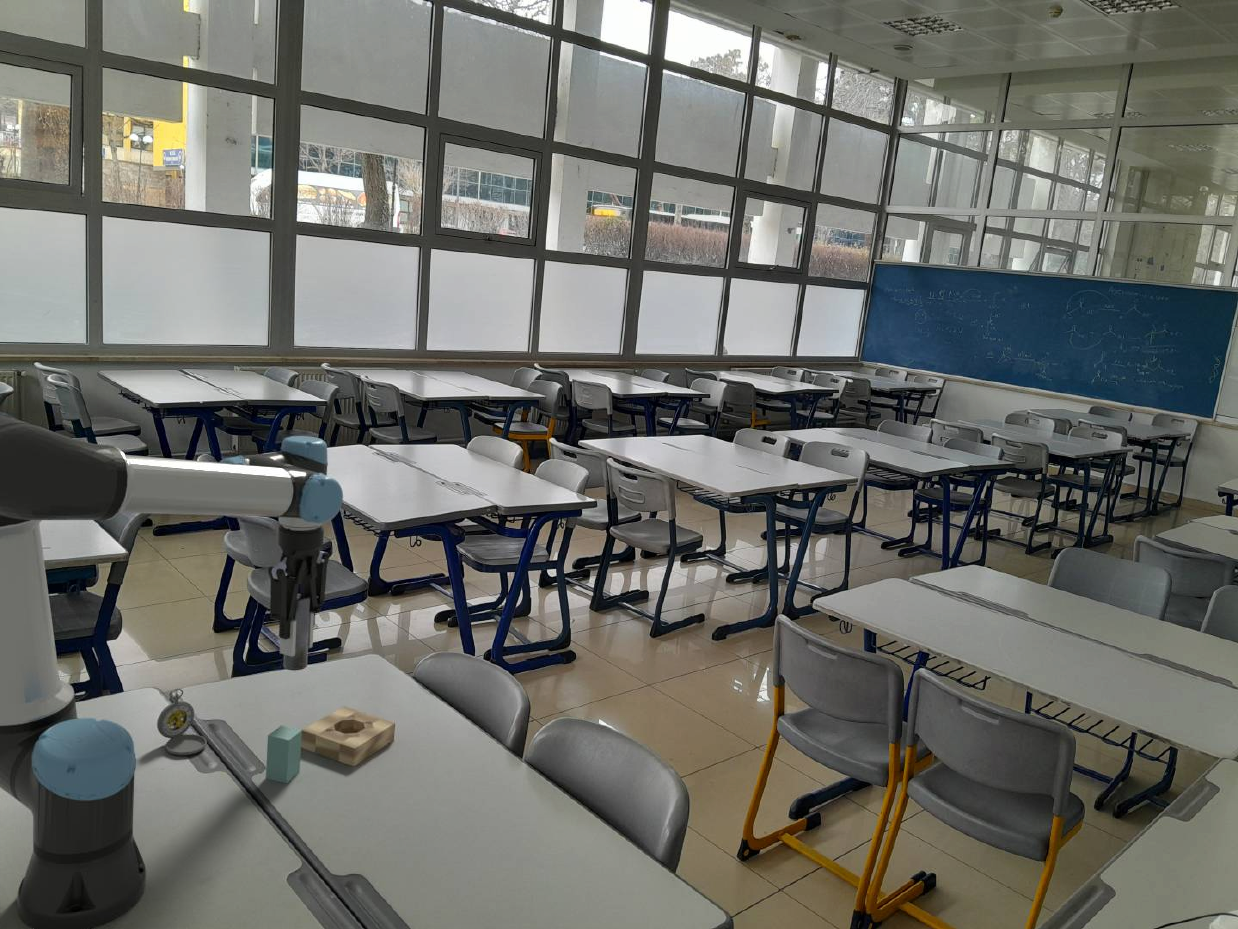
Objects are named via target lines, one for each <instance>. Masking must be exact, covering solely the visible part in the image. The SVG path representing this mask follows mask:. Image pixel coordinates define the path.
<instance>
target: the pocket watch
mask: <svg viewBox="0 0 1238 929" xmlns="http://www.w3.org/2000/svg"><path fill="white" fill-rule="evenodd" d="M175 691H180V692H181V694H178V693H176V694H175V696H174V697H173V696H172V694H173V693H174V692H175ZM183 695H184V690H183V689H181V688H175V689H173V690H172V691H171V692H169V698H170V699H172V700H174V702H172V703H170V704H169V705H167V706H166V707H164V709H163V710H162V711H161V712H160V714H159V715H158V719H157V721H156V727H157V731H158V732H159V734H160V735H161V736H162V737H164V738H168V739H169V740H168V741H166V744H165V750H166V752H168V753H170V754H172V755H175V756H189V755H193V754H194V755H195V754H197V753H199V752H201V751H202V750H204V749H205V747H206V746H207V743H208V742H207V738H205V737H204V736H201V735H198V734H193V733H191V734H184V733H185V732H187V731H188V730H189V728H191V726H192V723H193V721H194V718H195V710H194V707H193V706H192V705H191V703H189V702H187V701H182V700H181V701H180V699H181V698H182V696H183ZM172 726H173V727H172Z"/></svg>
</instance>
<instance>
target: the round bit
mask: <svg viewBox="0 0 1238 929" xmlns="http://www.w3.org/2000/svg"><path fill="white" fill-rule="evenodd" d="M309 611H310V596H308V595H305V594H301V593H298V594H297V599H296V605H295V611H294V616H293V620H295V621H296V641H295V655H294V656H292V657H291V656H288V655H285V654H283V668H284V669H285V670H288V671H293V672H294V671H295V672H297V671H302V670H304V669H306V668H307V666H308V655H309V654H308V650H309V648H308V632H309Z"/></svg>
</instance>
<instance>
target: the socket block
mask: <svg viewBox="0 0 1238 929" xmlns="http://www.w3.org/2000/svg"><path fill="white" fill-rule="evenodd" d="M301 730H302V738H301V749H304V750H307V751H309V752H312V753H315V754H318V755H321V756H324V757H326V758H328V759H329V758H330V759H331V760H334V761H337V762H340V763H342V764H346V765H348V766H351V767H356V766H357V765H358V764H360V763H361V762H363V761H364V760H366V759H367V758H369V757H370V756H372V755H373V754H375V753H376V752H378V751H380V750H381V749H382V748H384V747H386V746H387V745H389V744H390V743H392V742H394V740H395V730H396V722H393V721H390V720H387V719H384V718H381V717H377V716H374V715H372V714H369V713H366V712H363V711H361V710H357V709H354V708H350V707H348V706H342V707H340V708H338V709H336V710H335V711H333V712H332V713H330V714H328V715H326V716H324V717H322V718H321V719H319V720H317V721H315V722H313V723H311V724H310V725H308V726H306V727H304V728H303V729H301ZM388 743H389V744H388Z"/></svg>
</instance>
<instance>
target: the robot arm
mask: <svg viewBox="0 0 1238 929" xmlns="http://www.w3.org/2000/svg"><path fill="white" fill-rule="evenodd" d="M328 461H329V460H328V445H327V442H325V441H324V440H323V439H322V438H319V437H314V436H307V435H291V436H288V437H285V438H283V439H282V443H281V447H280V451H275V452H267V453H258V454H247V455H241V454H240V455H237V456H233V457H228V458H227V457H226V458H224V459H222V460H220V461H219V462H211V461H201V460H188V459H179V458H178V459H176V458H166V457H154V456H143V455H131V454H130V455H129V454H125V453H124V452H123V451H122V450H121V449H120V447H117V446H115V445H109V444H98V443H91V442H87V441H83V440H79V439H76V438H72V437H70V436H66V435H63V434H60V433H58V432H55V431H53V430H51V429H50V430H49V429H48V428H45V427H41V426H38V425H35V424H31V423H28V422H26V421H22V420H19V419H17V418H15V417H13V416H11V415H9V414H7V413H4V412H2V411H1V412H0V789H2V790H3V791H4V792H6V793H7V794H8V795H10V796H11V797H12V798H14V799H15V800H17V801H18V802H20V804H22V805H23V806H25V807H26V808H27V809H28V810H29V811H30V812H31V814H32V817H33V818H32V821H33V822H32V824H33V825H32V830H33V831H32V832H33V834H32V839H33V841H32V847H33V848H32V849H33V850H32V854H31V856H30V859H29V862H28V865H27V868H26V872H25V874H24V877H23V879H22V880H21V882H20V884H19V886H18V890H17V896H16V897H17V899H16V900H17V902H16V903H17V906H16V909H17V915H18V917H19V919H20V920H21V922H23V923H24V924H25V925H27V926H28V927H31V928H33V929H90V928H94V927H97V926H100V925H103V924H106V923H108V922H111V921H113V920H114V919H116V918H118V917H121V916H122V915H123V914H125V913H126V912H128V911H129V910H130V909H131V908H133V907H135V905H136V904H137V903H138V901H139V900H140V899H141V898H142V897H143V895H144V892H145V891H146V884H147V883H146V881H147V871H146V870H147V869H146V864H145V862H144V859H143V857H142V854H141V852H140V850H139V847H138V844H137V842H136V840H135V836H134V803H135V802H134V798H135V797H134V796H135V773H136V767H137V758H136V753H135V744H134V740H133V737H132V735H131V733H130V732H129V731H128V730H127V729H126V728H125V727H123V726H122V725H120V724H118V723H117V722H115V721H111V720H109V719H104V718H103V719H101V720H97V719H96V718H94V717H82V718H78V714H77V713H78V712H77V711H78V710H77V704H76V697H75V691H74V688H73V686H72V685H71V684H69V683H68V682H66V681H63V680H62V679H60V672H59V666H58V658H57V650H56V644H55V641H56V640H55V635H54V627H53V619H52V612H51V611H52V610H51V604H50V597H49V596H50V595H49V589H48V583H47V582H48V581H47V575H46V574H47V573H46V566H45V559H44V558H45V557H44V551H43V543H42V534H41V528H40V523H41V522H42V521H109V520H112V519H114V518H115V517H116V516H118V515H119V514H120V513H121V514H122V513H123V514H155V515H157V514H158V515H159V514H160V515H162V514H164V515H191V516H192V515H195V516H196V515H198V516H232V517H233V516H236V517H238V516H239V517H243V516H244V517H274V518H278V523H279V524H280V525H279V526H278V537H277V538H278V541H277V544H278V546H279V547H280V549H281V551H282V553H281V556H280V559H279V563H278V564H277V565H276V566H269V567H268V570H267V572H268V576H269V579H270V586H269V587H270V590H269V591H270V600H269V601H270V603H269V604H270V606H269V607H270V609H269V617H270V619H271V620H274V621H278V622H279V624H278V627H279V630H278V637H279V639H280V640H279V654H282V655H284V654H285V655H288V656H291V657H292V656H294V655H295V641H296V621H295V620H293V616H294V611H295V605H296V599H297V594H299V593H298V592H299V588H300V594H305V595H308V596H310V611H309V632H308V649H311V648H313V644H314V627H315V625H316V624H315V622H316V613H320V612H321V610H322V606H324V604H325V598H326V596H325V595H326V586H327V585H326V584H327V571H328V563H329V559H330V557H331V554H330V553H329V552H327V551H322V550H320V549H321V548H322V547H323V546H324V538H325V537H324V535H325V534H324V533H325V527H324V526H323V524H325V523H327V522H329V521H332V520H333V519H334V518H335V517H336V516H337V515H338V513H339V512H340V510H341V508H342V504H343V499H344V493H343V492H344V491H343V489H342V488H343V487H342V486H341V484H340V483H339V482H338V480H336V479H335V478H333V477H332V476H328V466H329V463H328ZM320 606H321V607H320Z"/></svg>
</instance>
